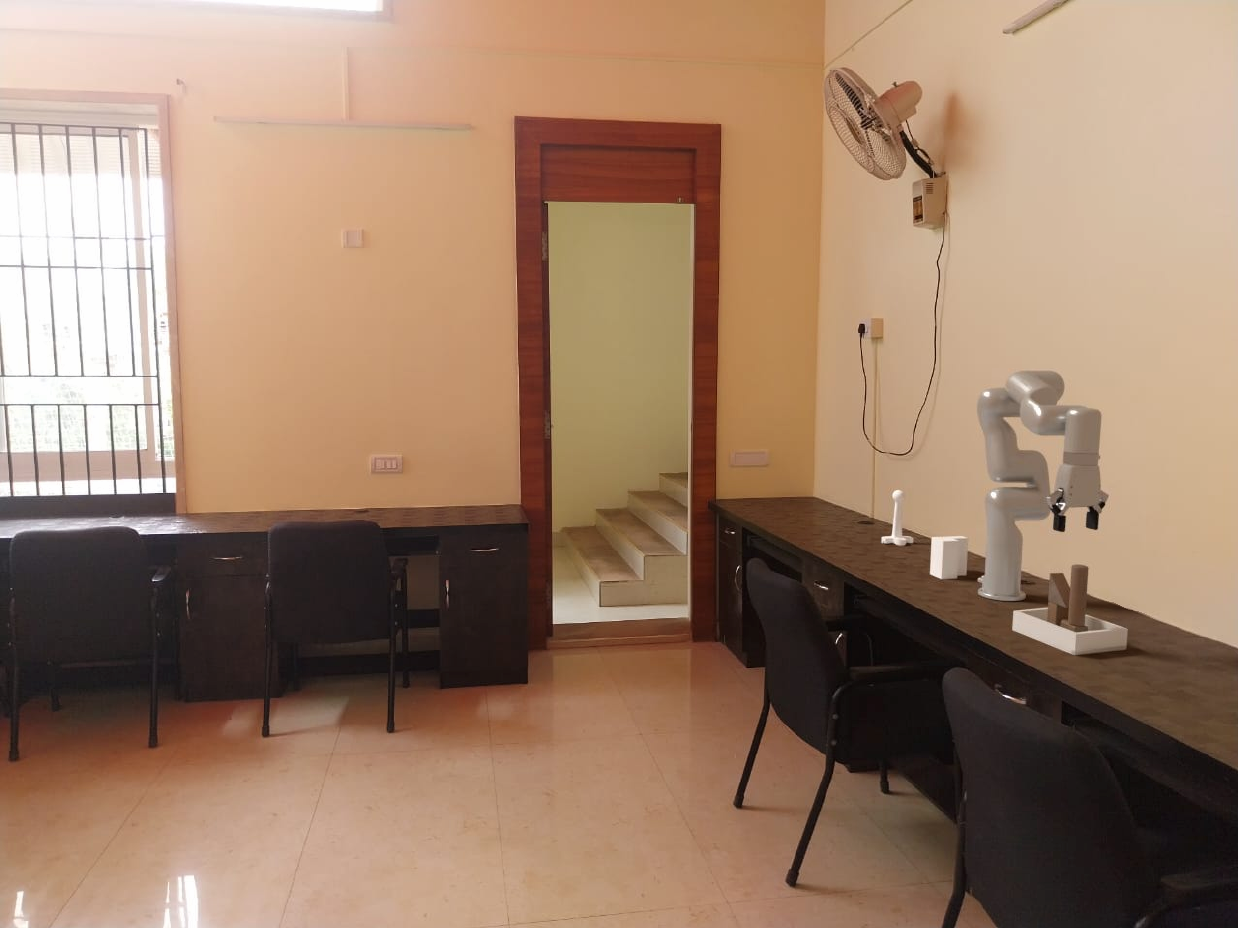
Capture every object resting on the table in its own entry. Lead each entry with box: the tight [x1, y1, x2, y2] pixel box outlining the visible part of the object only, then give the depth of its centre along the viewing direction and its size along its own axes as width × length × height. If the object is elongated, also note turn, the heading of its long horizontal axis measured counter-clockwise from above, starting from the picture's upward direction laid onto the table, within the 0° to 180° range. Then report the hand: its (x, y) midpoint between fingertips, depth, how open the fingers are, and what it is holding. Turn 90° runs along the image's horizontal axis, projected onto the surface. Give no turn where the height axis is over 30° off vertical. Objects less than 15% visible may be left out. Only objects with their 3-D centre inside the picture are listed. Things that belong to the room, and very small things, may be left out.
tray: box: [1011, 607, 1129, 656], centre depth 213 cm, size 20×15×5 cm
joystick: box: [881, 489, 914, 547], centre depth 325 cm, size 11×8×20 cm
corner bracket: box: [929, 535, 969, 580], centre depth 279 cm, size 11×11×12 cm
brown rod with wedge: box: [1047, 564, 1090, 633], centre depth 212 cm, size 4×11×18 cm, turn 8°
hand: (1075, 529), depth 212 cm, fingers open, 9 cm apart
